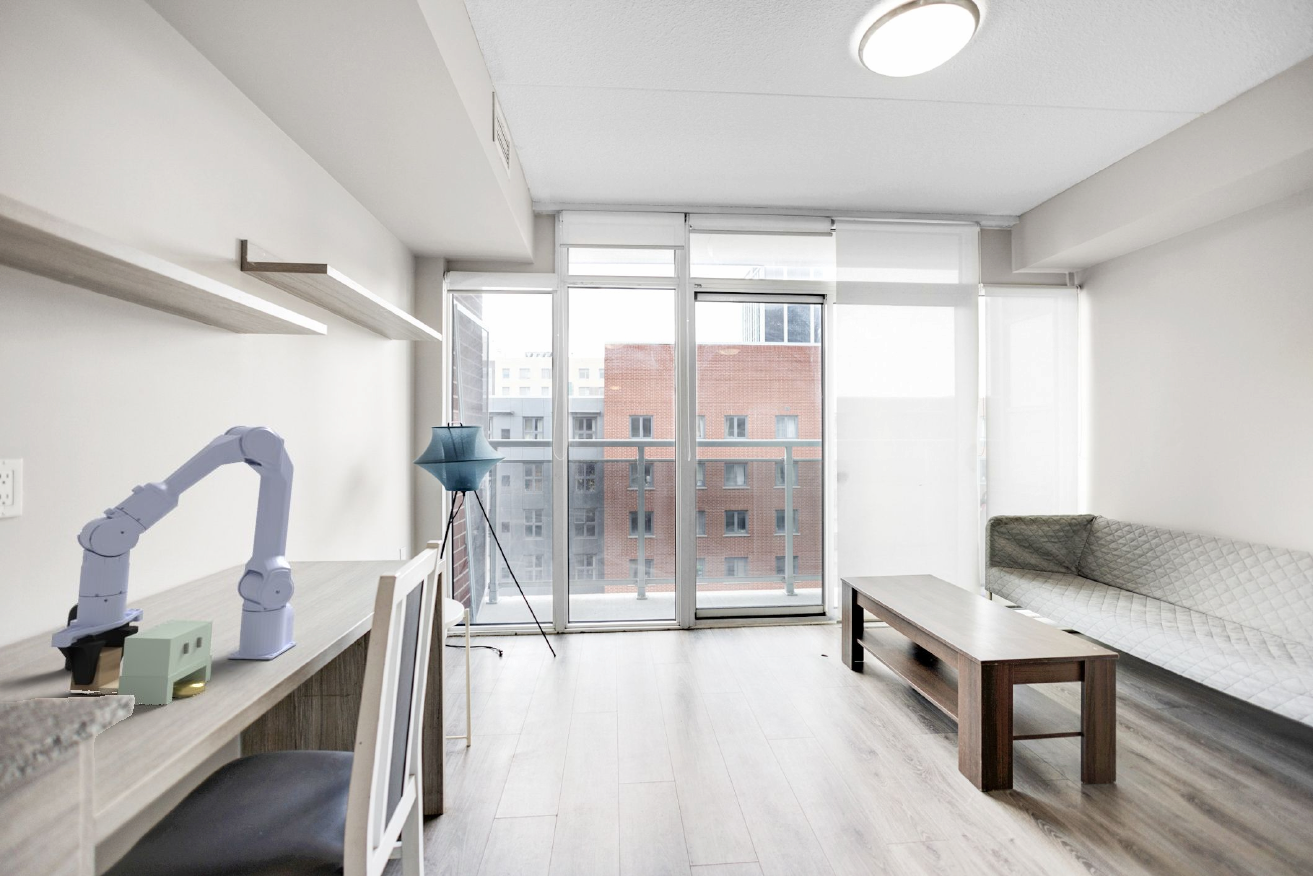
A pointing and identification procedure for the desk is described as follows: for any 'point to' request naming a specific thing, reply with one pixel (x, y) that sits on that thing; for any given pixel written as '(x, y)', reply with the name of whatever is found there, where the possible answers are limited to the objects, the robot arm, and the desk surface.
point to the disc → (188, 688)
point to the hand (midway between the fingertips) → (96, 678)
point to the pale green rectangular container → (165, 660)
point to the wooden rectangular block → (105, 673)
